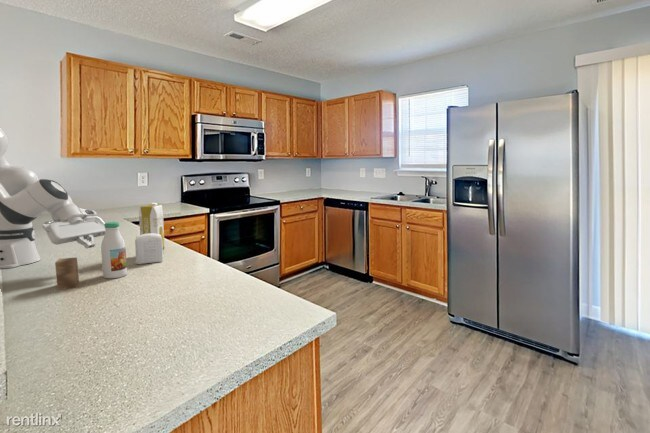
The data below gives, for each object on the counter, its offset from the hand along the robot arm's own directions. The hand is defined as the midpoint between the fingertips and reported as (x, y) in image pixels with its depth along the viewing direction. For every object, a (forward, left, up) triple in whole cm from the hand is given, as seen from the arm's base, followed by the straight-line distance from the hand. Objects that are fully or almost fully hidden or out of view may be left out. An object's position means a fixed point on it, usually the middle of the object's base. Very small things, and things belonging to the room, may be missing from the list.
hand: (91, 246), depth 129 cm
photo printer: (+19, +10, -11) cm, 24 cm away
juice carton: (+20, +21, -11) cm, 31 cm away
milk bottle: (+8, -5, -11) cm, 14 cm away
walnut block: (-5, -11, -11) cm, 16 cm away
